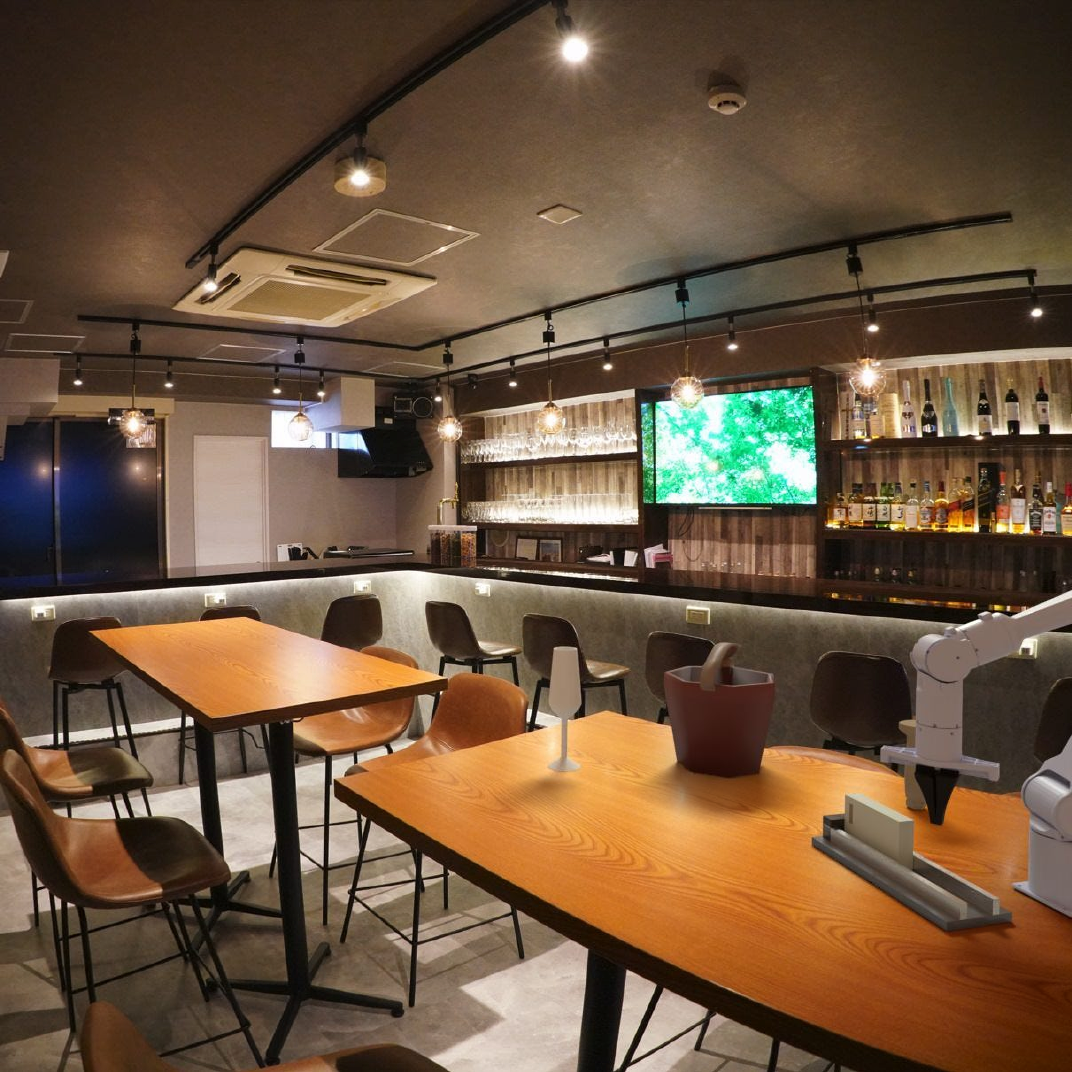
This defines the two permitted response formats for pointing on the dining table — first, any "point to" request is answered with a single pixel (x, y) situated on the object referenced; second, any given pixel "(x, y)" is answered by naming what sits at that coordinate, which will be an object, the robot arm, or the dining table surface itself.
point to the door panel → (880, 828)
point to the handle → (911, 770)
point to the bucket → (719, 714)
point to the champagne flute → (564, 698)
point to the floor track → (914, 881)
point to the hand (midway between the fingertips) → (937, 822)
